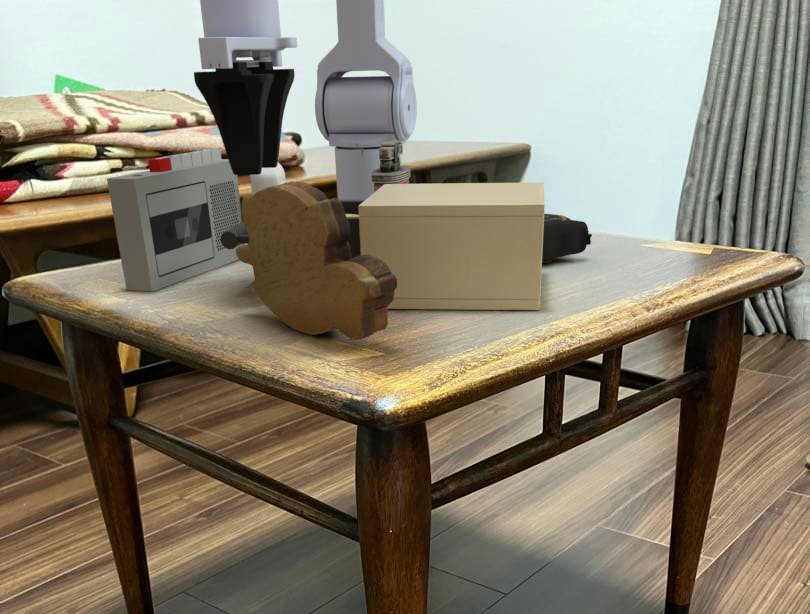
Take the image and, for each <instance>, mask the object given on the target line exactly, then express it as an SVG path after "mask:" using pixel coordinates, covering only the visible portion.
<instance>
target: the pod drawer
mask: <svg viewBox="0 0 810 614" xmlns="http://www.w3.org/2000/svg"><path fill="white" fill-rule="evenodd" d="M339 201H340V202H341V204H342V206H343V209H344V211H345V214H356V215H359V209H358V206H359V205H360V204H361V203H362V202H364V201H365V200H339ZM347 220H348V223H349V227H350V237H349V239H348V240H347V241H348V243H349V245H350V248H351V250H350V252H351V255H352V258H354V257H356V256H360V255H361V250H360V229H359V217H347ZM221 243H222V245H223V246H224V247H225V248H226V249H234V248H235V247H237V246H238V245H240V244H249V236H248V233H247V230H246V228H245V225H244V222H243V221H242V223H240V224H238V225H236V226H235V227H233V228H231V229H229V230H227V231H226V232H224V233H223V234H222V235H221Z"/></svg>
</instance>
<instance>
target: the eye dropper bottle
mask: <svg viewBox="0 0 810 614" xmlns="http://www.w3.org/2000/svg"><path fill="white" fill-rule="evenodd" d="M279 159H280V156H279V157H278V163H277V167H275V168H262V171H261V174H258V175H249V177H250V187H251V188H250V189H251V194H255V193H256V192H258V191H260V190H262V189H265V188H267V187H272V186H276V185H281V184H284V183H287V179H286V172H285V170H284V168H283V166H282V164H280V162H279Z"/></svg>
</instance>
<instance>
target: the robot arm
mask: <svg viewBox="0 0 810 614" xmlns="http://www.w3.org/2000/svg"><path fill="white" fill-rule="evenodd" d="M335 3H336V4H335V5H336V18H337V19H336V21H337V22H336V23H337V24H336V25H337V38H338V39H337V43H336V44H335V45H334V46H333V47H332V49H331V50H330V51H328V52H327V53H326V54H325V56H324V57H323V58H322V59H321V60H320V61H319V62H318V63H317V70H316V91H315V96H314V115H315V120H316V121H315V122H316V125H317V128H318V130H319V132H320V134H321V135H322V136H323V138H324V139H325V141H327V142H328V146H329V147H334V160H335V177H336V192H337V193H336V195H337V196H336V197H337V199H339V200H366V199H367V198H368V197H370V196H371V195H372V194H373V193H374V182H372V176H371V173H372V171H374V170H376V169H378V168H380V160H379V148H380V145H381V142H391V141H401V143H402V144H406V142H407V141H409V139H410V137H411V136H412V135H413V133H414V131H415V128H416V123H417V113H418V109H417V108H418V107H417V106H418V105H417V94H416V93H417V92H416V89H415V85H414V71H413V66H412V62H411V61H410V60H409V58H408V57H407V56H406V54H404V53H403V52H402V51H400V50H399V49H398V48H397V47H396V46H394V45H393V44H392V43H391V42H390V41H389V40H388V39H387V38H386V30H385V29H386V26H385V25H386V23H385V20H386V19H385V0H335ZM199 4H200V12H201V13H200V14H201V20H202V29H203V30H202V31H203V37H198V38H197V40H198V49H199V57H200V64H201V66H200V67H201V69H202V70H213V71H194V72H193V78H194V83H195V86H196V88H197V89H198V90H199V92H200V94H201V95H202V97H203V99H204V100H205V102H206V105H207V106H208V108H209V110H210V112H211V114H212V116H213V118H214V121H215V123H216V126H217V129H218V132H219V134H220V137H221V141H222V143H223V147H224V152H225V154H226V157H227V159H228V160H229V163H230V166H231V169H232V171H233V174H234V175H237V176H241V175H242V176H247V175H249V176H250V175H258V174H261V171H262V168H275V167H277V163H278V162H279V160H278V157H279V158H280V149H281V139H282V138H281V137H282V128H283V119H284V115H285V110H286V109H285V108H286V105H287V101H288V98H289V94H290V91H291V89H292V86H293V83H294V81H295V76H296V75H295V68H281V67H283V56H282V55H283V54H282V51H284V50H285V49H291V48H293V49H294V48H296V49H297V48H298V39H297V37H295V36H285V37H282V33H281V31H282V30H281V19H280V7H279V6H280V5H279V0H199ZM237 58H239V59H237ZM241 58H242V59H241ZM244 58H245V59H244ZM246 58H251V59H246ZM240 59H241V60H240ZM277 67H280V68H277ZM214 70H215V71H214ZM371 71H373V72H374V71H375V72H376V71H380V72H384V73H386V74H387V75H377V76H376V75H375V76H374V75H373V76H345V74H347V73H350V72H371ZM402 163H403V162H402V155H400V165H403V164H402Z"/></svg>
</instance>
